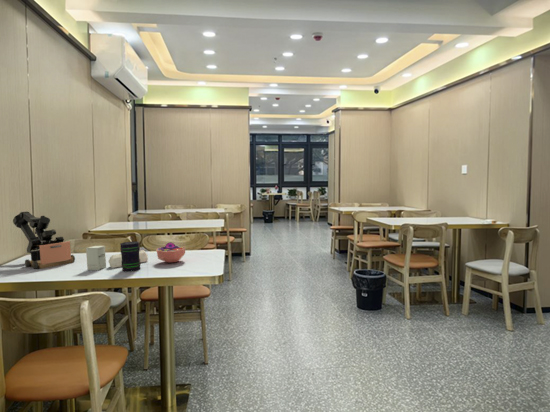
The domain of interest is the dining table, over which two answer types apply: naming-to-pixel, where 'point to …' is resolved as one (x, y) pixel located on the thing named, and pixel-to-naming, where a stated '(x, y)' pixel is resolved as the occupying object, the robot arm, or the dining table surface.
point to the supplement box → (96, 257)
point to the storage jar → (130, 256)
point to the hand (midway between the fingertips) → (52, 253)
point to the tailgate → (55, 252)
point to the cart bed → (38, 263)
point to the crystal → (116, 259)
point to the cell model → (170, 253)
